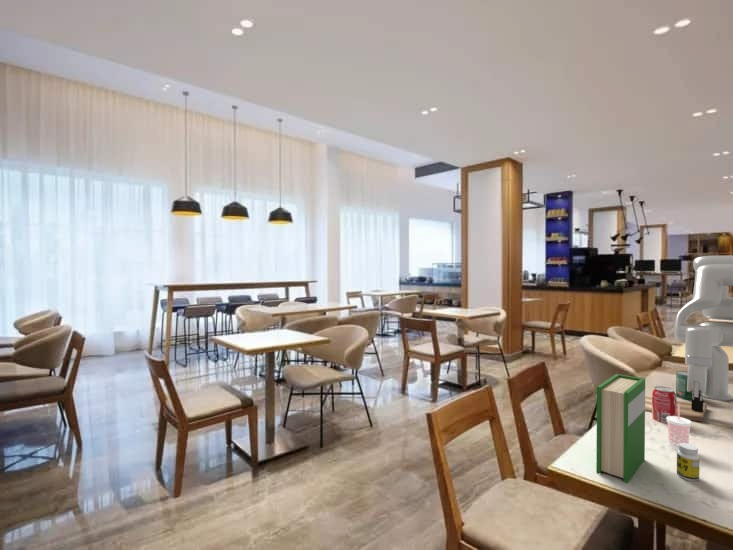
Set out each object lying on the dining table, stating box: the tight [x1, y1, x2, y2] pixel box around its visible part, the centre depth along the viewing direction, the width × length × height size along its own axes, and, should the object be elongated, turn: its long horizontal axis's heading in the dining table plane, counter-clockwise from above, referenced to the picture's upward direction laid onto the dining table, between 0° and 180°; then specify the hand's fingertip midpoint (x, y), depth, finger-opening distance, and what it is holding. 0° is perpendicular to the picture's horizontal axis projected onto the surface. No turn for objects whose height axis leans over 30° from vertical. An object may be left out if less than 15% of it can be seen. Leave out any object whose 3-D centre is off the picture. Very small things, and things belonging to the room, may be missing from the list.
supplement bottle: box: [676, 443, 701, 482], centre depth 106 cm, size 5×5×8 cm
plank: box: [676, 400, 708, 422], centre depth 149 cm, size 18×10×2 cm, turn 136°
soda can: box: [651, 385, 678, 424], centre depth 143 cm, size 7×7×12 cm
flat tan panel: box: [645, 395, 652, 413], centre depth 157 cm, size 18×10×2 cm, turn 136°
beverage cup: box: [666, 403, 692, 451], centre depth 122 cm, size 6×6×14 cm
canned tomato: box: [675, 370, 692, 402], centre depth 165 cm, size 8×8×11 cm
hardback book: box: [595, 373, 646, 484], centre depth 112 cm, size 18×7×24 cm, turn 133°
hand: (697, 410), depth 146 cm, fingers closed
